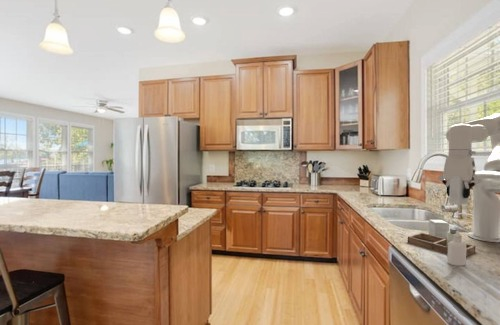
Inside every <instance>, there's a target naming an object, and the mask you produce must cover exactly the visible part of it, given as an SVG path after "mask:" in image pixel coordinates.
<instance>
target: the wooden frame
mask: <svg viewBox="0 0 500 325" xmlns="http://www.w3.org/2000/svg"><path fill="white" fill-rule="evenodd" d="M407 243H409V244H413V245H414V246H415V245H416V246H419V247H423V248H427V249H429V250H432V251H436V252H440V253H444V254H447V255H448V247H447V238H441V237H437V236H433V235H430V234H429V233H424V232H419V233H416V234H412V235H409V236H407ZM465 244H466V257H468V256H470V255H472V254H474V253H476V245H473V244H468V243H465Z"/></svg>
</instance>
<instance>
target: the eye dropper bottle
mask: <svg viewBox="0 0 500 325" xmlns="http://www.w3.org/2000/svg"><path fill="white" fill-rule="evenodd" d="M460 234H461V233H460V232H459V231H458V230H457V231H456V234H453V241H450V242H449V243H448V254H447V264H449V265H452V266H455V267H461V266H462V267H463V266H465V265H466V264H467V256H466V244H467V243H465V242H464V241H463V240H462V238H463V237H462V234H461V235H460Z"/></svg>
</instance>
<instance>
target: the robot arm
mask: <svg viewBox="0 0 500 325" xmlns="http://www.w3.org/2000/svg"><path fill="white" fill-rule="evenodd" d="M445 137H446V140H447V141H448V154H447V157H446V158H445V162H444V166H443V172H442V173H441V174H440V175H439V176H438V178H437V179H438V180H439V181H440V182H442V184H444V185H445V187H446V194H447V196H448V197H449V191H450V180H451V179H452V178H453V177H454V176H461V180H462V181H464V184H465V188H464V198H468V197H470V196H471V189H472V195H473V196H472V199H473V200H472V201H473V205H472V228H471V229H472V231H470V232H468V233H467V235H468V237H470V238H472V239H474V240H477V241H481V242H486V243H487V242H488V243H500V198H499V196H498V195H497V194H500V113H493V114H492V115H490V116H489V115H488V116H486V117H484V118H479V119H474V120H471V121H467V122H466V121H465V122H463V123H458V124H453V125H451V126H450V127H449V128H448V129H447V131H446V134H445ZM488 137H490V138H489V140H490V144H491V145H490V146H491V149H492V151H491V153H490V155H489V157H488V158H487V160H486V162H485V163H484V166H483V170H481V171H480V170H479V171H476V162H475V157H472V156H474V155H475V156H476V153H477V152H476V151H474V150H472V144H475V143H482V142H484V141H486V140H487V139H488ZM496 193H497V194H496Z"/></svg>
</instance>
